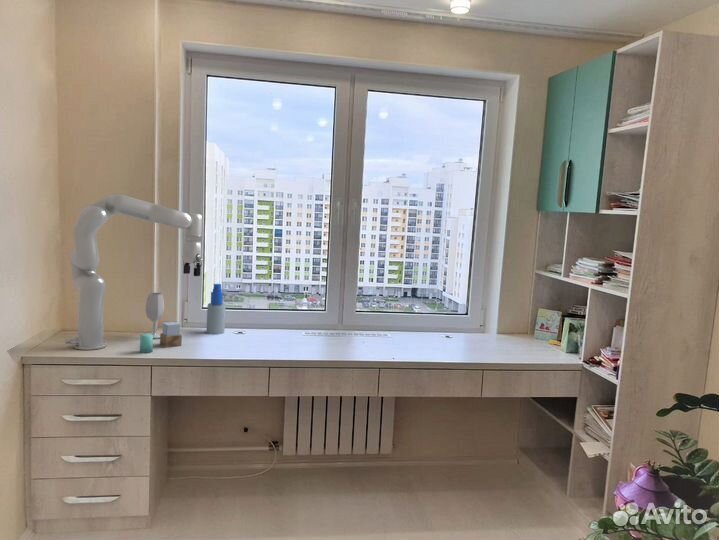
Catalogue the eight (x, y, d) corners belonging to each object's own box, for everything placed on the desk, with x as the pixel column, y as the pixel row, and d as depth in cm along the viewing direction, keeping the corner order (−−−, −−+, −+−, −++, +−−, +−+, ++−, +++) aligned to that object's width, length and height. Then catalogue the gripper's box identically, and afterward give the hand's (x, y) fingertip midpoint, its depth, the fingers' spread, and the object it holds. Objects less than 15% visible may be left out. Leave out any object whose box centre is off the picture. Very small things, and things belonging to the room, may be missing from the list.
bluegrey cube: (167, 336, 225) (167, 325, 224) (162, 333, 229) (162, 322, 228) (179, 335, 229) (179, 324, 228) (174, 332, 233) (174, 321, 232)
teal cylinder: (142, 353, 213) (142, 337, 212) (138, 351, 216) (138, 334, 215) (154, 352, 216) (154, 336, 215) (149, 349, 220) (150, 333, 219)
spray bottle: (205, 333, 254) (207, 284, 251) (207, 329, 263) (209, 282, 260) (223, 334, 256) (225, 285, 253) (225, 330, 264) (227, 283, 262)
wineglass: (167, 335, 245) (168, 293, 243) (158, 339, 236) (159, 295, 234) (150, 334, 246) (151, 291, 244) (140, 338, 237) (141, 294, 235)
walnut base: (166, 347, 224) (166, 336, 224) (159, 344, 229) (160, 333, 229) (181, 346, 229) (181, 335, 229) (175, 342, 234) (175, 332, 234)
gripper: (176, 237, 245) (175, 272, 247) (195, 240, 234) (193, 277, 235) (191, 238, 251) (189, 272, 252) (209, 240, 239) (208, 276, 241)
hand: (191, 274), depth 244 cm, fingers open, 9 cm apart
